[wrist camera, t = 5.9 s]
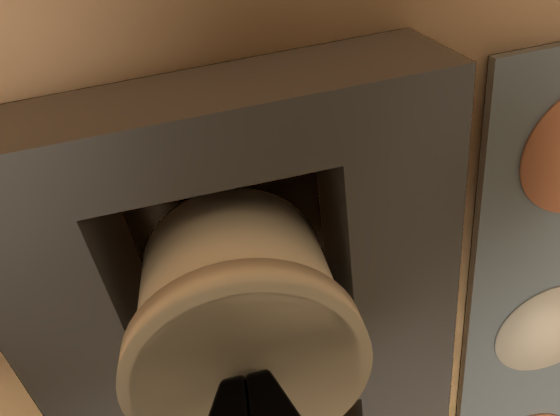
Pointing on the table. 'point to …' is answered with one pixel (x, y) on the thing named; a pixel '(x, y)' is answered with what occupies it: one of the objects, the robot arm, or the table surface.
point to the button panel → (234, 174)
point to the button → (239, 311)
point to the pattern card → (516, 244)
